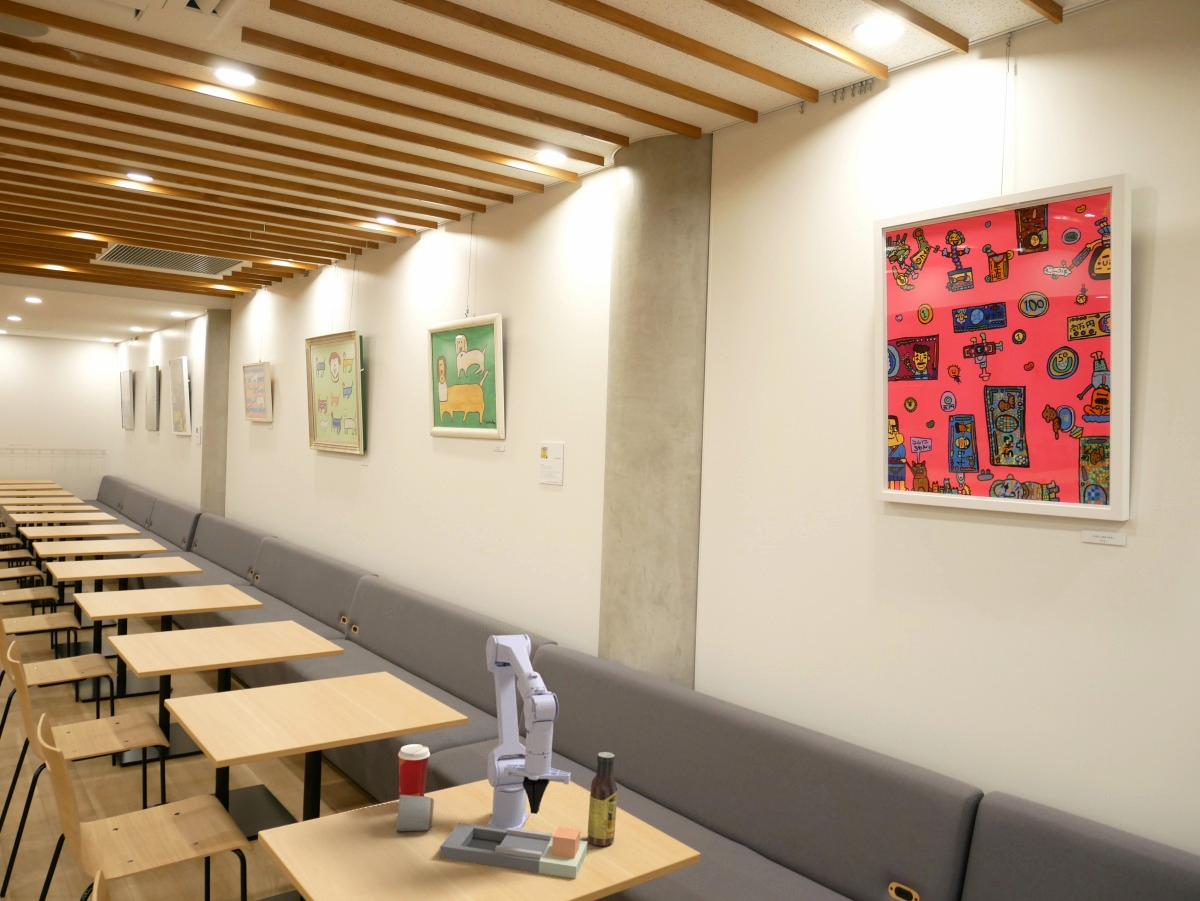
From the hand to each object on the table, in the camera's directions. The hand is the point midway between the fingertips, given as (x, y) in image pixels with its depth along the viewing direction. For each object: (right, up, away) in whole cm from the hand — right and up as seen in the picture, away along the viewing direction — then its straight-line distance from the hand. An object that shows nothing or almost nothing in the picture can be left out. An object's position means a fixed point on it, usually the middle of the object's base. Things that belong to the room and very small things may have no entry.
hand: (534, 811), depth 190 cm
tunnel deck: (-5, -10, +1) cm, 11 cm away
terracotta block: (+7, -8, -1) cm, 11 cm away
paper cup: (-32, -8, +23) cm, 40 cm away
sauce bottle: (+14, -11, +10) cm, 21 cm away
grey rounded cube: (-29, -9, +12) cm, 33 cm away
